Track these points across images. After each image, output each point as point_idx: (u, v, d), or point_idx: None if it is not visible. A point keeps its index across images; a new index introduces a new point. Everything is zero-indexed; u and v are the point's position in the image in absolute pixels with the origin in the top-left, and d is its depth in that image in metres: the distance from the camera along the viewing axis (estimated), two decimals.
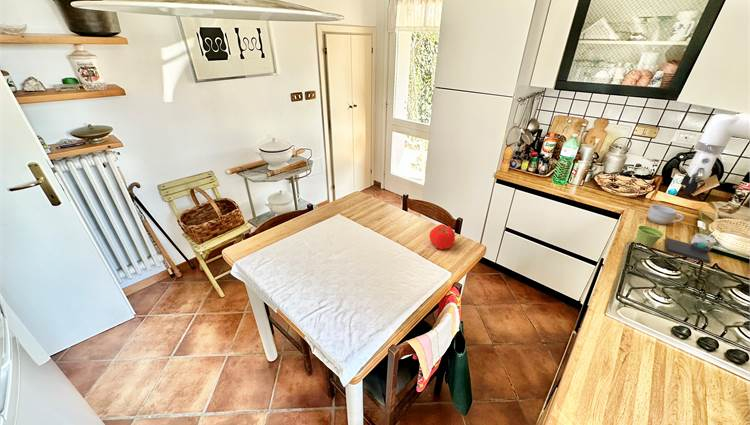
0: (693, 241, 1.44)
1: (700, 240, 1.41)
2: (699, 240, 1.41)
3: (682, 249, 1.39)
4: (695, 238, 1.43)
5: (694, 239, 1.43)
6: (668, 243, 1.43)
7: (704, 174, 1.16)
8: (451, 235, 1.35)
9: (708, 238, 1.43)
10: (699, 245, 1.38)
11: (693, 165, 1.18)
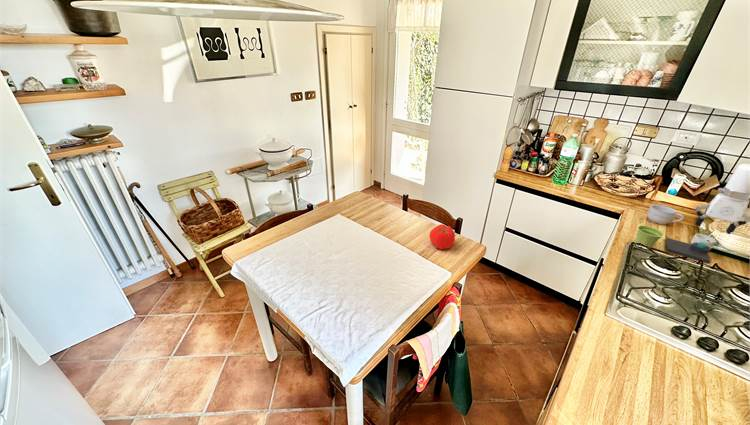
0: (693, 241, 1.44)
1: (700, 240, 1.41)
2: (699, 240, 1.41)
3: (682, 249, 1.39)
4: (695, 238, 1.43)
5: (694, 239, 1.43)
6: (668, 243, 1.43)
7: (707, 210, 1.31)
8: (451, 235, 1.35)
9: (708, 238, 1.43)
10: (699, 245, 1.38)
11: None
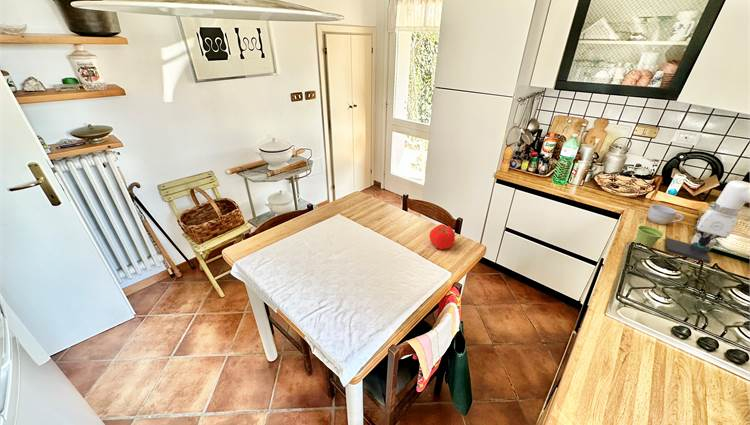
0: (693, 241, 1.44)
1: None
2: None
3: (682, 249, 1.39)
4: (695, 238, 1.43)
5: (694, 239, 1.43)
6: (668, 243, 1.43)
7: (698, 224, 1.35)
8: (451, 235, 1.35)
9: None
10: (698, 246, 1.38)
11: None
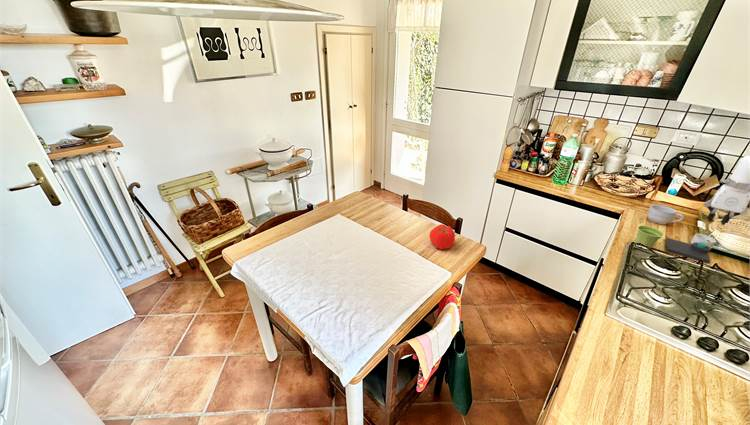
0: (693, 241, 1.44)
1: (700, 240, 1.41)
2: (699, 240, 1.41)
3: (682, 249, 1.39)
4: (695, 238, 1.43)
5: (694, 239, 1.43)
6: (668, 243, 1.43)
7: (712, 201, 1.35)
8: (451, 235, 1.35)
9: (708, 238, 1.43)
10: (699, 245, 1.38)
11: None
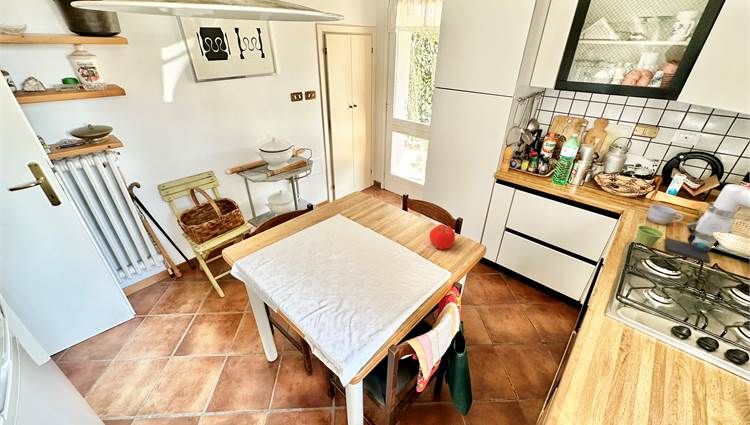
0: (693, 241, 1.44)
1: (700, 240, 1.41)
2: (699, 240, 1.41)
3: (682, 249, 1.39)
4: (695, 238, 1.43)
5: (694, 239, 1.43)
6: (668, 243, 1.43)
7: (697, 226, 1.41)
8: (451, 235, 1.35)
9: (708, 238, 1.43)
10: (699, 245, 1.38)
11: None
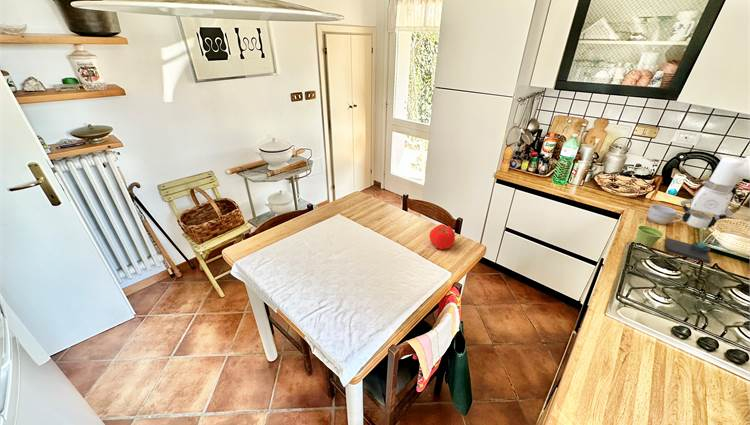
0: (688, 220, 1.34)
1: (695, 218, 1.31)
2: (694, 218, 1.31)
3: (682, 249, 1.39)
4: (690, 216, 1.33)
5: (689, 218, 1.33)
6: (668, 243, 1.43)
7: (691, 203, 1.31)
8: (451, 235, 1.35)
9: (704, 217, 1.33)
10: (699, 245, 1.38)
11: None
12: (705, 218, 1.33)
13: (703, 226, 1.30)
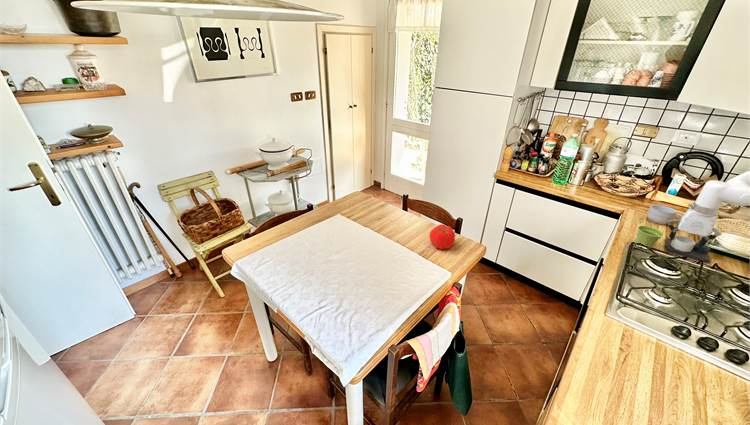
0: (673, 243, 1.40)
1: (679, 242, 1.37)
2: (678, 242, 1.37)
3: None
4: (675, 240, 1.39)
5: (674, 241, 1.39)
6: (668, 243, 1.43)
7: (679, 224, 1.36)
8: (451, 235, 1.35)
9: (688, 240, 1.39)
10: None
11: None
12: (689, 241, 1.39)
13: (687, 250, 1.36)
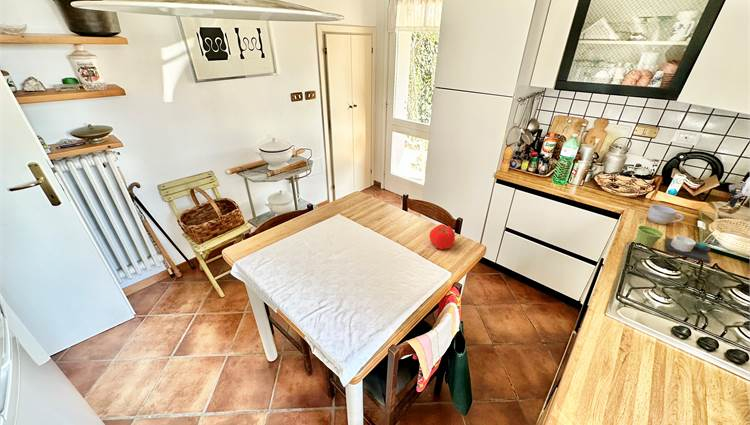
0: (673, 243, 1.40)
1: (679, 242, 1.37)
2: (678, 242, 1.37)
3: None
4: (675, 240, 1.39)
5: (674, 241, 1.39)
6: (668, 243, 1.43)
7: (743, 188, 1.22)
8: (451, 235, 1.35)
9: (688, 240, 1.39)
10: (699, 245, 1.38)
11: None
12: (689, 241, 1.39)
13: (687, 250, 1.36)
